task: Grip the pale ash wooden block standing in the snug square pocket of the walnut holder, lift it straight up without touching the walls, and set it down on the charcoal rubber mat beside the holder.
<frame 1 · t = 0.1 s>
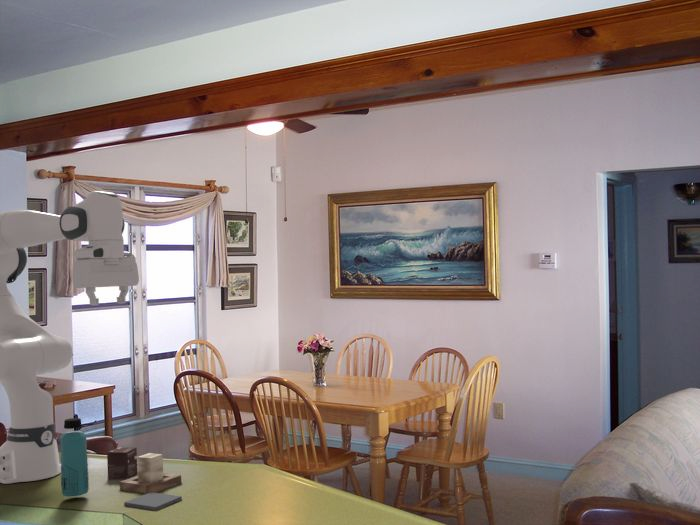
hand: (108, 304, 199), 48 cm above the kitchen counter, tool pointing down, fingers open, 8 cm apart
beverage bottle: (75, 499, 188), on the kitchen counter
pocket holder: (150, 486, 197), on the kitchen counter
box: (122, 477, 209), on the kitchen counter
peg block: (151, 486, 197), resting in pocket holder
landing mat: (153, 502, 182), on the kitchen counter
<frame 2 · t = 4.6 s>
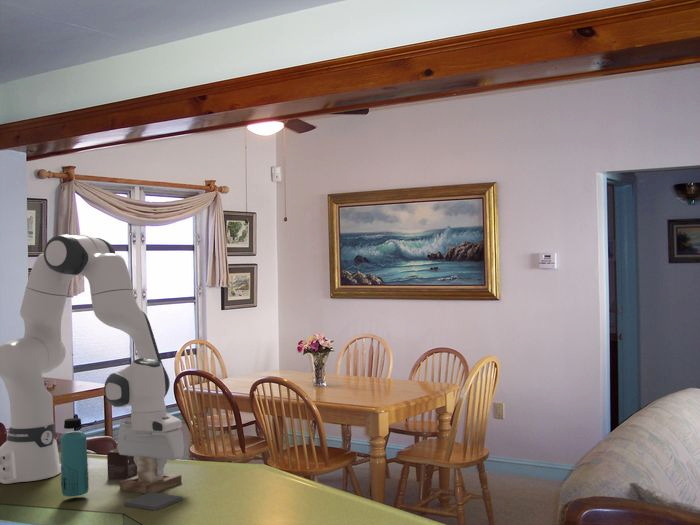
hand: (150, 474, 197), 3 cm above the kitchen counter, tool pointing down, fingers closed on peg block, 4 cm apart
peg block: (150, 486, 197), resting in pocket holder, touching gripper
everything else where it was.
when the fingers open (5 cm above the kitchen counter, at t = 12.5 s): peg block drops 1 cm, resting on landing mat.
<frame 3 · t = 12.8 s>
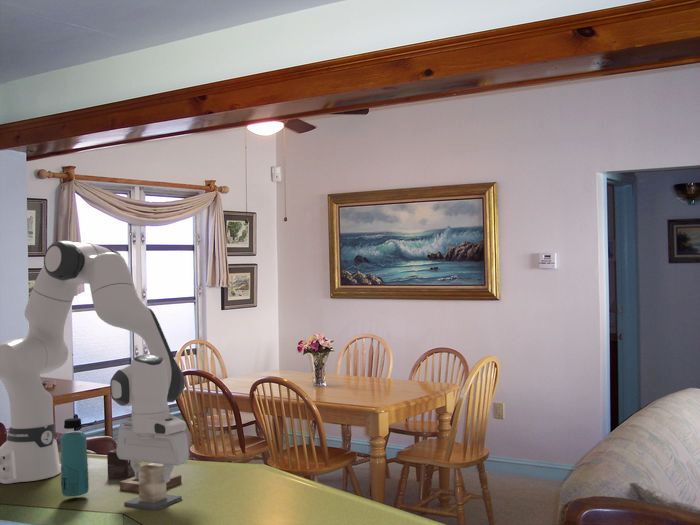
hand: (152, 480, 182), 5 cm above the kitchen counter, tool pointing down, fingers open, 7 cm apart
peg block: (153, 499, 182), point 1 cm above the kitchen counter, touching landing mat
everything else where it was.
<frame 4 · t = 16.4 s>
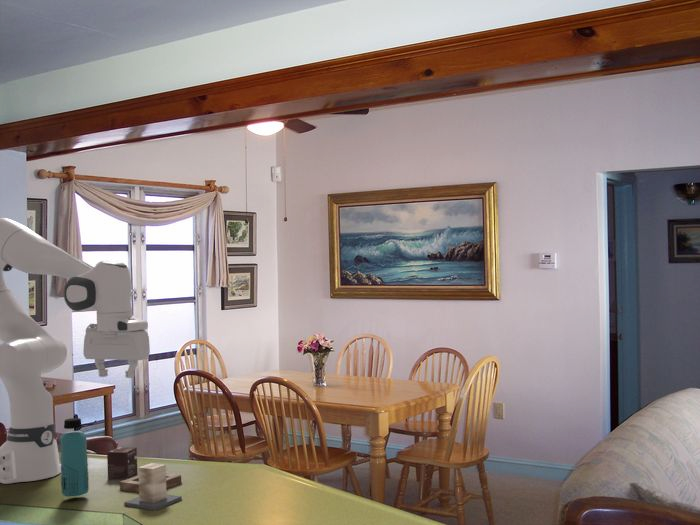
hand: (116, 377, 195), 29 cm above the kitchen counter, tool pointing down, fingers open, 8 cm apart
nothing on the kitchen counter moved.
at the end: peg block 0.1 cm off-centre on the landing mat, point 0.8 cm above the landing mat's base; peg block tilted 0°; the gripper is holding nothing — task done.
